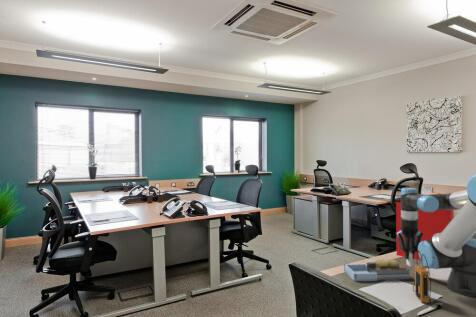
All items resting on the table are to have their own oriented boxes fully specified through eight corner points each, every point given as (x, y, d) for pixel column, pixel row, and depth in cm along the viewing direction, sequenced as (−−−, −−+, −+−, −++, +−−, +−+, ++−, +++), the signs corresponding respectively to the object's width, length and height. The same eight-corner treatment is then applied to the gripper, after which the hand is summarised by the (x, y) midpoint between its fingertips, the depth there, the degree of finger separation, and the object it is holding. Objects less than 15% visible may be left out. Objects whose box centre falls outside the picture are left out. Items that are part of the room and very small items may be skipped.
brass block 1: (387, 271, 152) (387, 262, 152) (379, 271, 151) (379, 262, 151) (383, 268, 156) (383, 259, 156) (375, 268, 155) (375, 259, 155)
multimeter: (453, 309, 119) (453, 258, 118) (425, 307, 121) (424, 257, 120) (436, 293, 133) (436, 247, 133) (411, 291, 135) (411, 246, 135)
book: (396, 255, 183) (396, 201, 183) (401, 252, 189) (401, 200, 188) (450, 266, 163) (450, 207, 163) (454, 263, 169) (454, 205, 168)
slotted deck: (410, 279, 148) (410, 269, 148) (377, 280, 147) (377, 270, 147) (396, 269, 160) (396, 261, 160) (366, 270, 159) (366, 262, 159)
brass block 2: (398, 271, 152) (398, 262, 152) (390, 271, 152) (390, 262, 152) (393, 268, 156) (393, 259, 156) (386, 268, 156) (386, 259, 156)
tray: (377, 280, 147) (377, 273, 147) (354, 281, 146) (354, 274, 146) (364, 270, 160) (364, 263, 160) (344, 271, 159) (344, 264, 159)
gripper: (417, 216, 158) (417, 262, 158) (392, 217, 157) (392, 263, 158) (426, 220, 150) (426, 267, 151) (400, 220, 150) (401, 268, 150)
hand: (409, 265), depth 154 cm, fingers closed
